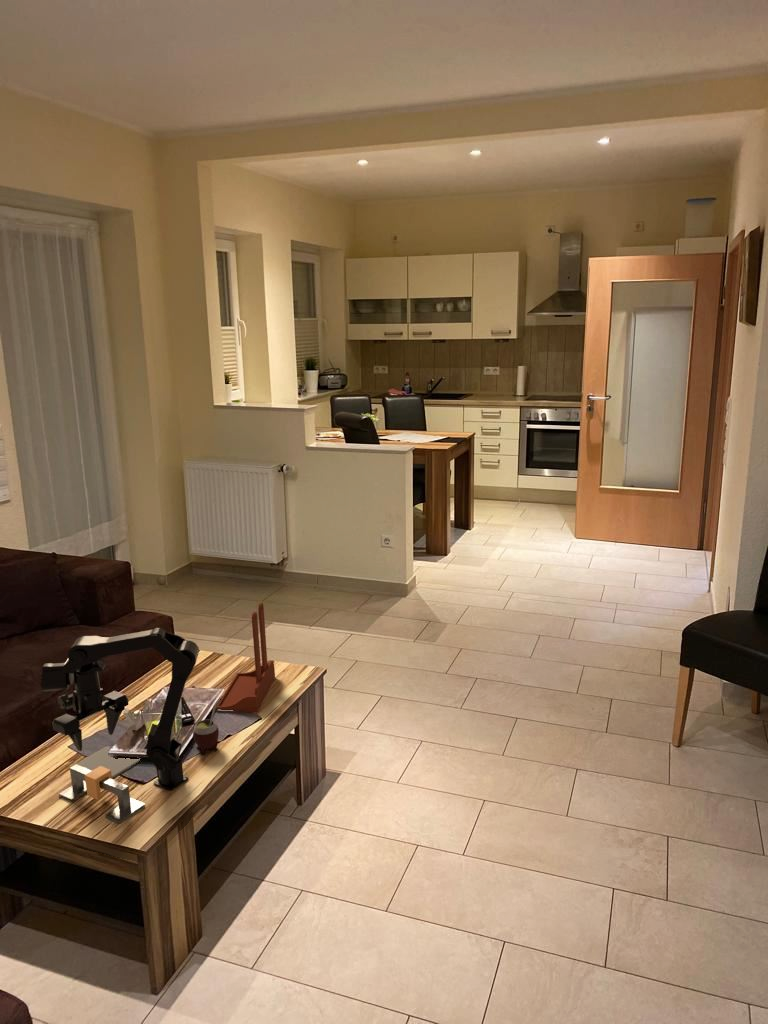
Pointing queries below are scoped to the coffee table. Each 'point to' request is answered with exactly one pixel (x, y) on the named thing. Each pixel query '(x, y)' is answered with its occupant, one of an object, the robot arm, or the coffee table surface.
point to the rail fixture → (121, 790)
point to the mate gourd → (206, 734)
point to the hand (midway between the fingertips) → (95, 742)
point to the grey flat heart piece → (132, 717)
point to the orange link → (96, 781)
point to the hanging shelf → (251, 675)
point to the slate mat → (107, 762)
